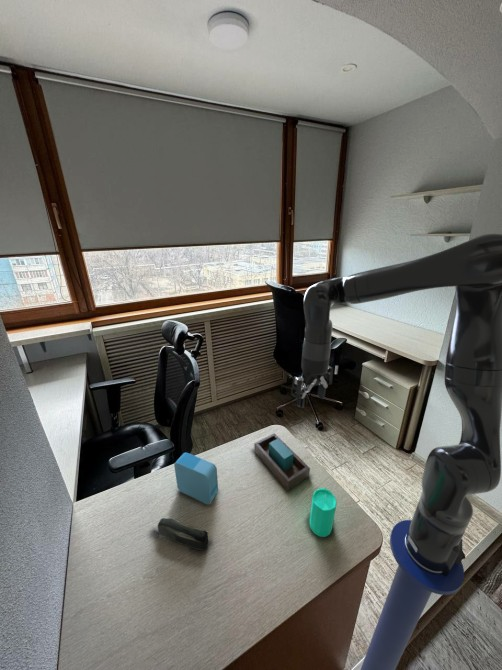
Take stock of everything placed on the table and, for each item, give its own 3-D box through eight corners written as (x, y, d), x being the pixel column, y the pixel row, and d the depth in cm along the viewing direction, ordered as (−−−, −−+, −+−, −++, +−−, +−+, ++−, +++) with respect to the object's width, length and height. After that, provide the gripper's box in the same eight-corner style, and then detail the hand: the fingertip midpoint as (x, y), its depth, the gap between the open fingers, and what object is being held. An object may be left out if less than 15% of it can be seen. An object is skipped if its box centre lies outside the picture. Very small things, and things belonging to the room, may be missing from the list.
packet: (277, 451, 95) (278, 438, 93) (292, 467, 89) (293, 453, 87) (268, 456, 93) (269, 443, 91) (283, 472, 87) (284, 459, 85)
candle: (310, 511, 76) (314, 481, 72) (332, 518, 75) (338, 488, 70) (307, 532, 71) (311, 501, 67) (331, 540, 69) (336, 509, 65)
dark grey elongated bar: (209, 528, 68) (156, 512, 71) (204, 541, 65) (149, 524, 68) (209, 540, 69) (158, 525, 73) (205, 553, 67) (151, 536, 70)
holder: (309, 476, 87) (310, 468, 85) (287, 490, 82) (288, 481, 81) (274, 440, 101) (274, 432, 100) (254, 451, 97) (254, 442, 95)
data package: (218, 493, 81) (216, 464, 77) (210, 506, 78) (208, 476, 73) (186, 478, 86) (183, 450, 81) (177, 490, 82) (173, 461, 78)
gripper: (323, 343, 81) (318, 388, 87) (287, 355, 74) (284, 403, 80) (343, 352, 75) (336, 400, 82) (306, 366, 68) (301, 417, 74)
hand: (310, 401), depth 81 cm, fingers open, 8 cm apart
